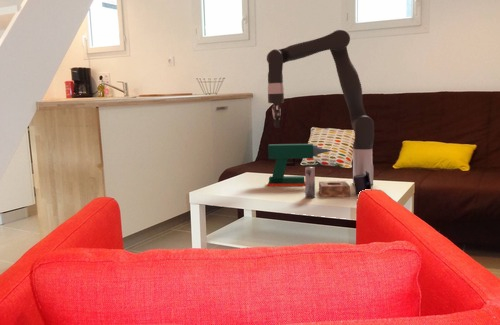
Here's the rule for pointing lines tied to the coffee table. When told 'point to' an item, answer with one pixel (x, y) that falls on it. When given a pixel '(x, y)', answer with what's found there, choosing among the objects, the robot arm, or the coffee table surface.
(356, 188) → the speaker
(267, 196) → the coffee table surface
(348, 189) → the block
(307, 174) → the grey upright block
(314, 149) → the power tool
